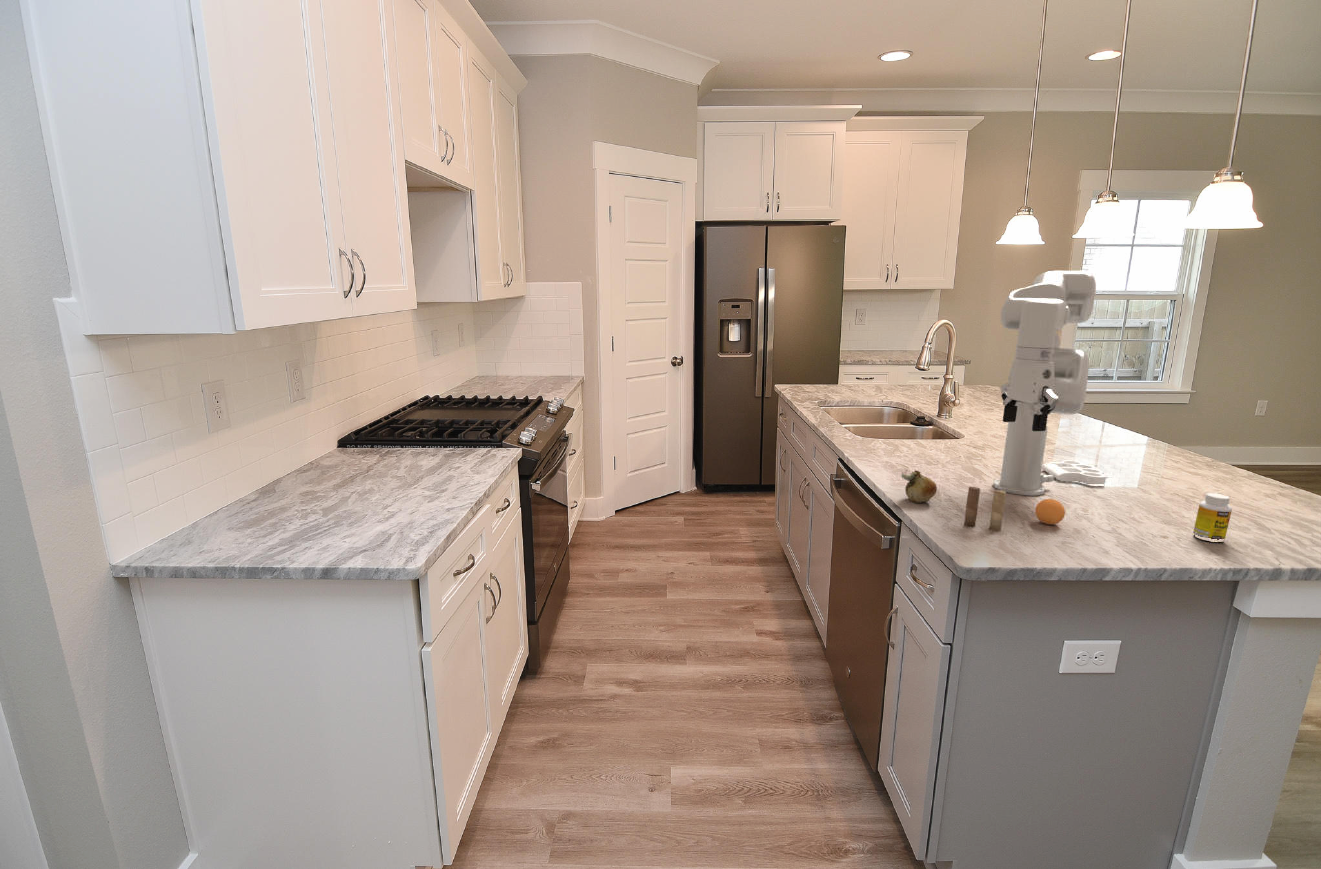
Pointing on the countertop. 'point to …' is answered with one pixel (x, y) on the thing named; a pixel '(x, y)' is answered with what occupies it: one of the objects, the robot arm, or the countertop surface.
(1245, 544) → the countertop surface
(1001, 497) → the maple pin
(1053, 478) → the robot arm
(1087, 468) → the white egg tray
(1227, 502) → the supplement bottle
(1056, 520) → the ball
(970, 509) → the walnut pin
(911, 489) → the onion
